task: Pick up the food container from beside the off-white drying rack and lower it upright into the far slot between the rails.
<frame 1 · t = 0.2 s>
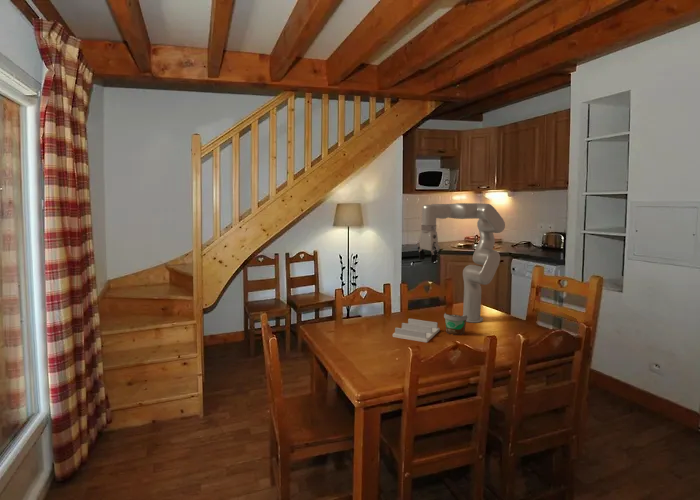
hand: (427, 260, 237), 37 cm above the table, tool pointing down, fingers open, 9 cm apart
rack: (416, 333, 232), on the table
food container: (453, 334, 232), on the table
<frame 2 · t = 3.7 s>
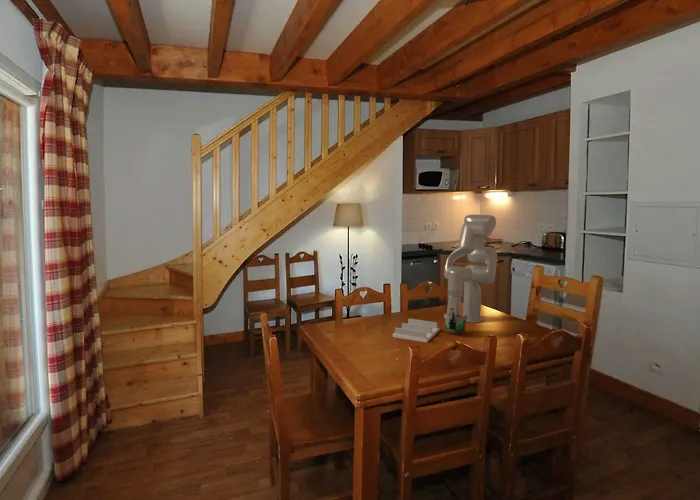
hand: (454, 327, 232), 4 cm above the table, tool pointing down, fingers closed on food container, 6 cm apart
food container: (453, 334, 232), on the table, touching gripper
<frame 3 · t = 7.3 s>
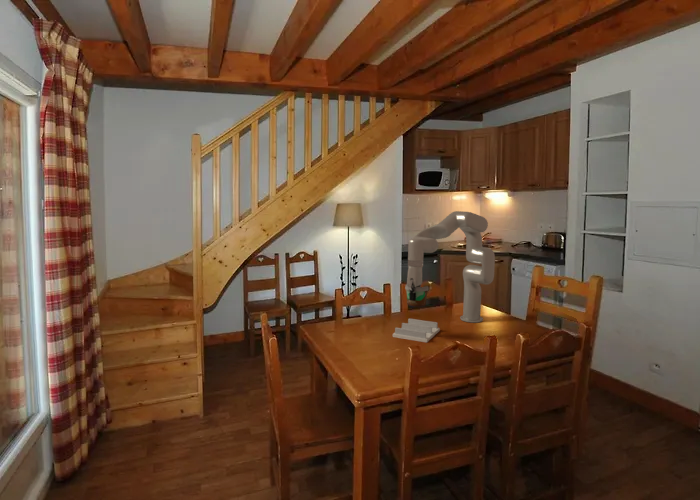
hand: (414, 298, 226), 20 cm above the table, tool pointing down, fingers closed on food container, 6 cm apart
food container: (414, 305, 226), point 16 cm above the table, touching gripper
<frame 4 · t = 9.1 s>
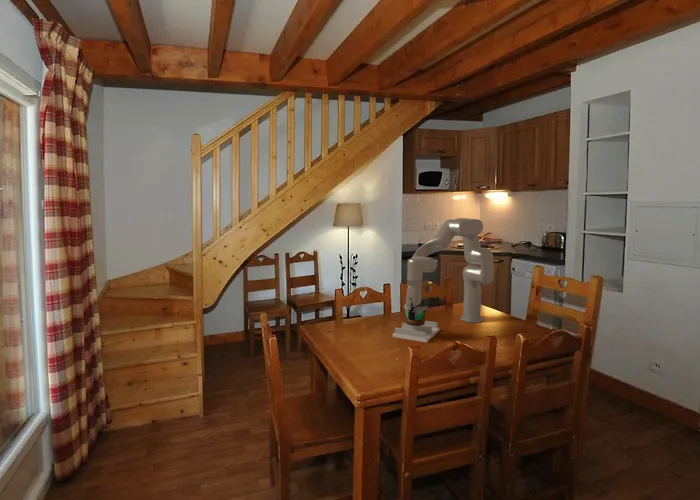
hand: (413, 317, 227), 10 cm above the table, tool pointing down, fingers closed on food container, 6 cm apart
food container: (413, 325, 227), point 6 cm above the table, touching gripper
when the fingers open (6 cm above the table, at t = 10.7 s): food container drops 1 cm, resting on rack.
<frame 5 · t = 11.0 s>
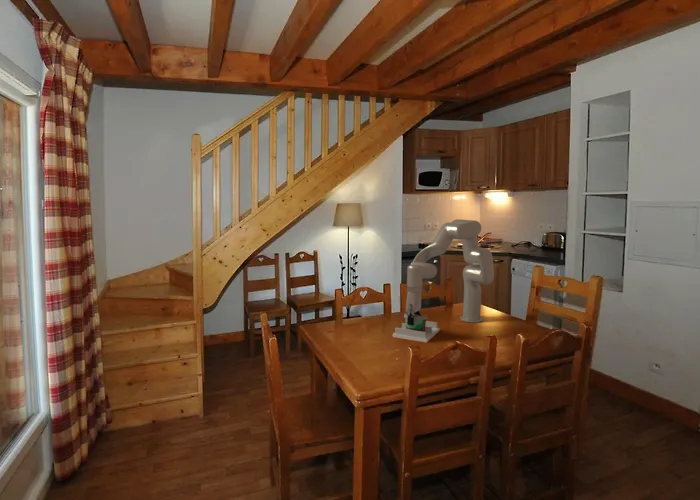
hand: (413, 322, 227), 7 cm above the table, tool pointing down, fingers open, 9 cm apart
food container: (413, 334, 227), point 1 cm above the table, touching rack
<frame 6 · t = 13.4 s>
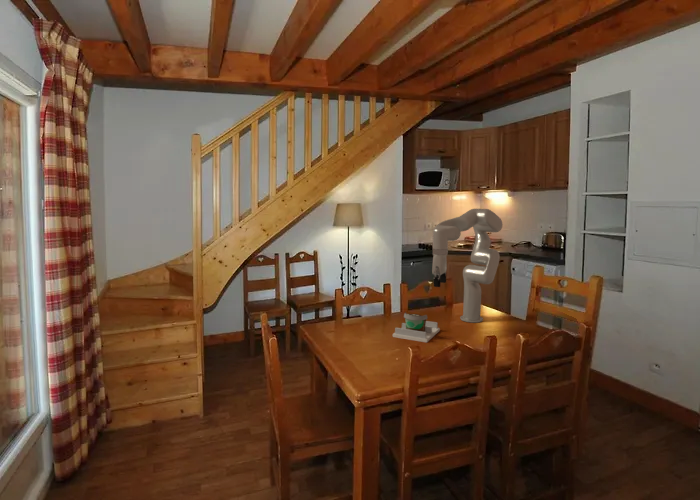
hand: (440, 284, 232), 25 cm above the table, tool pointing down, fingers open, 9 cm apart
nothing on the table moved.
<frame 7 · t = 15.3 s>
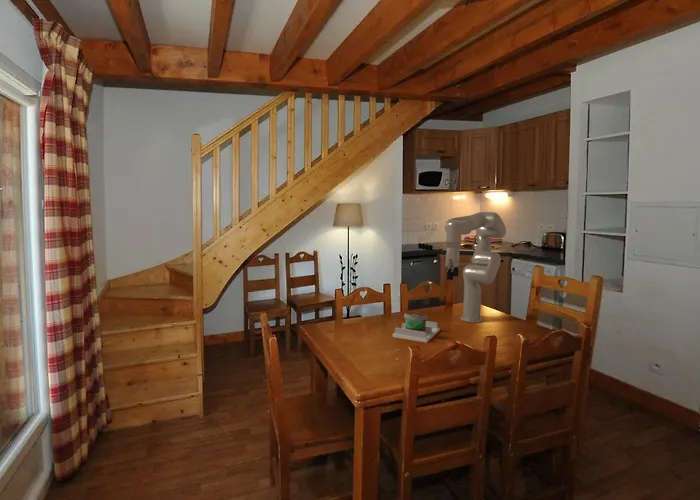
hand: (452, 277, 234), 28 cm above the table, tool pointing down, fingers open, 9 cm apart
nothing on the table moved.
at the end: food container 0.6 cm from the target spot on the rack, point 1.3 cm above the rack's base; food container tilted 0°; the gripper is holding nothing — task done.
